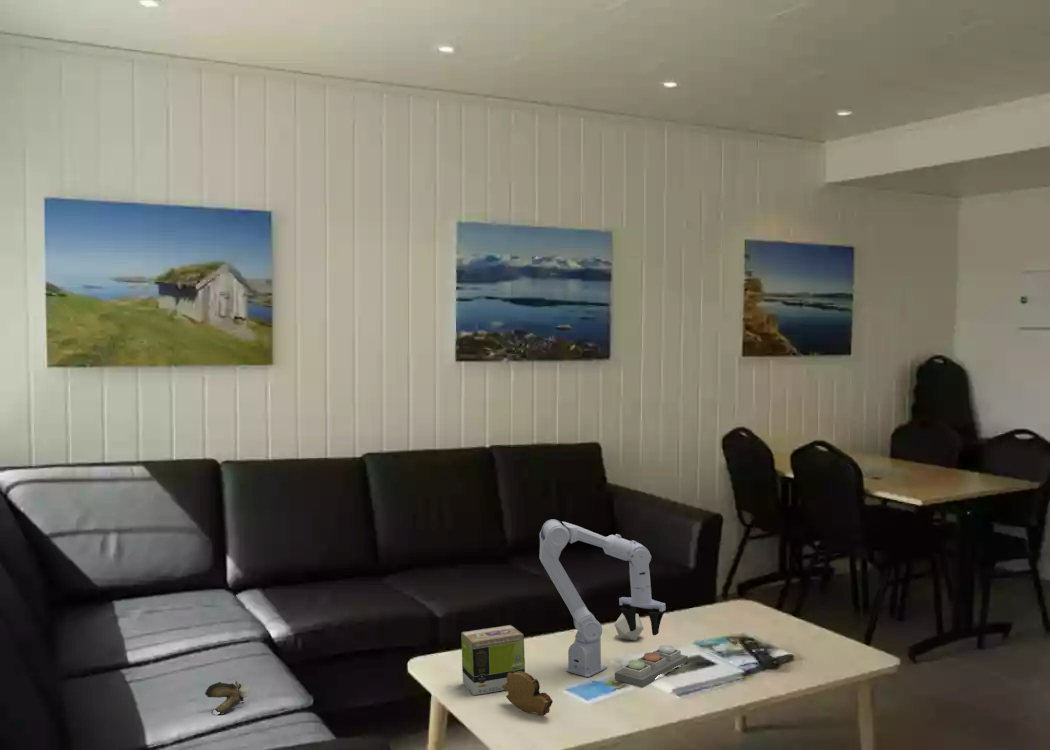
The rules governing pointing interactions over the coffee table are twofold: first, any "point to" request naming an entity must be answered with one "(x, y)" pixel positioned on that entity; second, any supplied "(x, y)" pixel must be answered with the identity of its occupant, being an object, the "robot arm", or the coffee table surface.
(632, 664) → the sage button
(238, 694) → the eagle figurine
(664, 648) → the blue-grey button
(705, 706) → the coffee table surface
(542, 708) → the wooden carving
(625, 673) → the button panel
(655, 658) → the terracotta button
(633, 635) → the die
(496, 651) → the tea box
